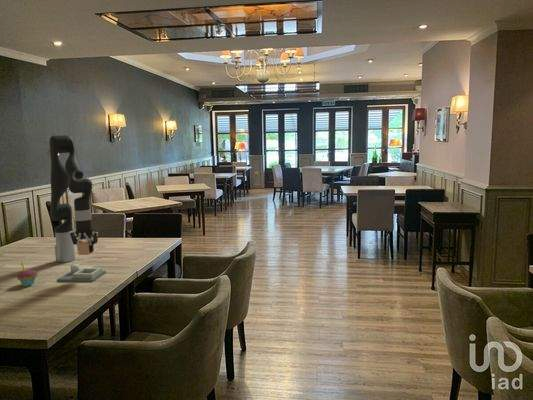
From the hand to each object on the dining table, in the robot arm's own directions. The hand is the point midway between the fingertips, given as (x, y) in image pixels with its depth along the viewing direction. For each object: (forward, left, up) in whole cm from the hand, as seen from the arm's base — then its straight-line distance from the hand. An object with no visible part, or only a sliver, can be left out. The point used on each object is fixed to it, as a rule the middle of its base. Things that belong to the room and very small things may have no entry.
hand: (85, 252), depth 200 cm
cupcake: (-24, -11, -13) cm, 29 cm away
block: (0, 0, -1) cm, 1 cm away
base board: (-3, 0, -13) cm, 13 cm away
